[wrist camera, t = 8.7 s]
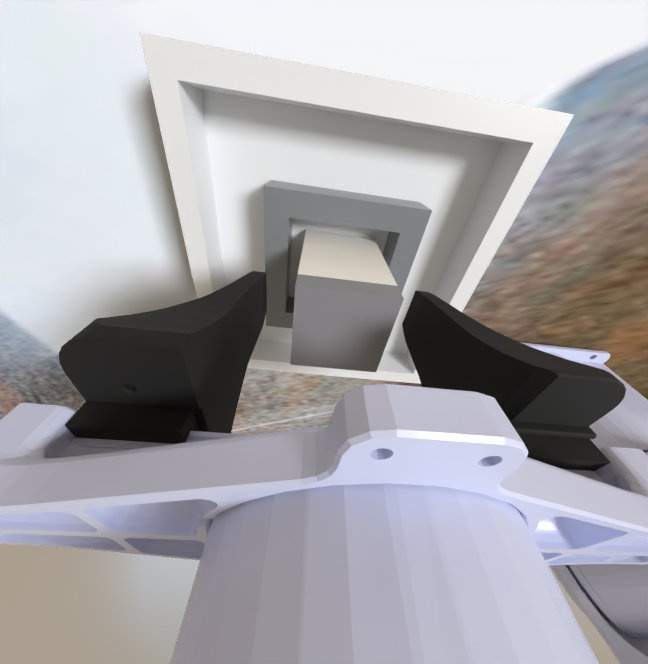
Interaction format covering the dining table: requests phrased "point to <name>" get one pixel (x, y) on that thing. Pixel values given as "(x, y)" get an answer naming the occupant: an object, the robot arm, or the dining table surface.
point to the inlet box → (338, 178)
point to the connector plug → (342, 303)
